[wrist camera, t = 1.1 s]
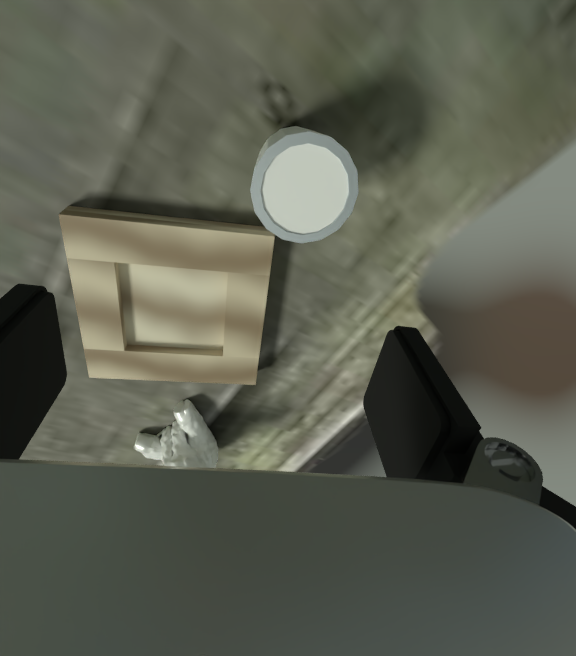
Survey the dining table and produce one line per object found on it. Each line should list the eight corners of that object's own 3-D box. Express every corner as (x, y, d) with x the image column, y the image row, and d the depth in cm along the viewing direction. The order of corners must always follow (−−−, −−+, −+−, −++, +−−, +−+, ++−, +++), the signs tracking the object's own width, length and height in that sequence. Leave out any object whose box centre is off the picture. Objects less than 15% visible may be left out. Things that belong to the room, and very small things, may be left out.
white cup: (355, 168, 31) (380, 193, 25) (290, 227, 33) (300, 263, 27) (297, 93, 27) (311, 103, 22) (230, 164, 30) (226, 190, 24)
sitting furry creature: (186, 393, 43) (168, 494, 33) (242, 429, 47) (241, 528, 37) (132, 435, 46) (101, 539, 36) (189, 466, 50) (175, 567, 40)
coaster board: (68, 205, 30) (58, 214, 29) (273, 227, 33) (274, 236, 31) (95, 364, 39) (89, 377, 37) (255, 371, 42) (255, 384, 40)
